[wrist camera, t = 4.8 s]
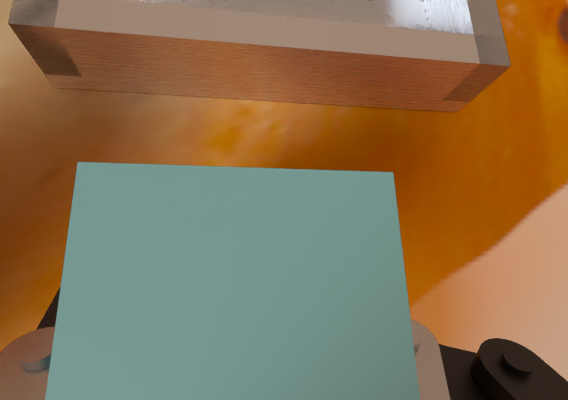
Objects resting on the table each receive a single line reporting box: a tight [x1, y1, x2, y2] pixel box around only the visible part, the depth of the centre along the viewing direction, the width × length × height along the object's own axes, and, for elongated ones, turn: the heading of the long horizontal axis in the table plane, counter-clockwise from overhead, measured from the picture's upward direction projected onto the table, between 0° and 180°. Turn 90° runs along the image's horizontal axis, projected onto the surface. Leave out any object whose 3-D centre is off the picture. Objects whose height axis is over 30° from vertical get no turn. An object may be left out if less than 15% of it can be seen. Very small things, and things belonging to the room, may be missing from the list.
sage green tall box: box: [45, 162, 420, 400], centre depth 10 cm, size 4×4×12 cm
